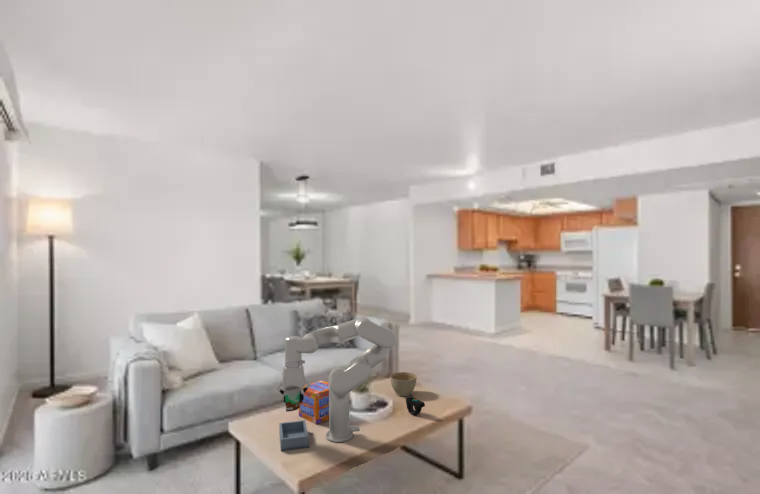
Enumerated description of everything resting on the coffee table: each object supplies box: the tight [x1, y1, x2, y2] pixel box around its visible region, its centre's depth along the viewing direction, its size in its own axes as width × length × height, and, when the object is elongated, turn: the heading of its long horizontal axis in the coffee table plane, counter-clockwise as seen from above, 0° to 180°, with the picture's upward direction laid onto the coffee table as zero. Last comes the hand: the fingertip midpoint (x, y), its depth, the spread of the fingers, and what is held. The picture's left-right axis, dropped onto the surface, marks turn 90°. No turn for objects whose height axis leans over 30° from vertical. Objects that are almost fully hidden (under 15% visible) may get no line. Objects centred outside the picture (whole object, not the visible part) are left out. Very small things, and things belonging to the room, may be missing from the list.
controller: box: [404, 393, 426, 416], centre depth 220 cm, size 4×12×10 cm, turn 38°
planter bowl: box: [389, 371, 418, 397], centre depth 252 cm, size 16×16×11 cm
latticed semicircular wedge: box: [285, 387, 301, 413], centre depth 192 cm, size 12×6×10 cm, turn 176°
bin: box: [278, 419, 310, 452], centre depth 191 cm, size 12×18×5 cm, turn 16°
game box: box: [298, 379, 329, 425], centre depth 219 cm, size 16×16×16 cm
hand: (293, 402), depth 191 cm, fingers closed on latticed semicircular wedge, 6 cm apart
